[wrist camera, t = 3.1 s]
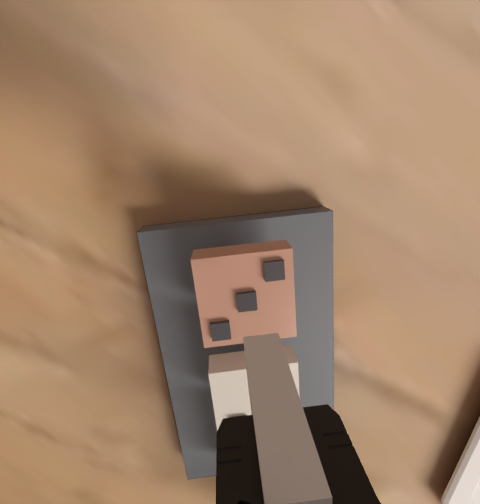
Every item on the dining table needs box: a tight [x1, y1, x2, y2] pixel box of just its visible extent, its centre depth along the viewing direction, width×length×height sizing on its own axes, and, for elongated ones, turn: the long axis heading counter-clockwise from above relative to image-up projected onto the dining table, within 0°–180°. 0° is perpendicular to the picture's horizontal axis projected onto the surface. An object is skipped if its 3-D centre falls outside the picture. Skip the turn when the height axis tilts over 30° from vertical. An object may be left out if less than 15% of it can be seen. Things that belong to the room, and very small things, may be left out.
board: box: [137, 207, 334, 480], centre depth 26 cm, size 14×24×2 cm, turn 5°
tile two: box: [208, 345, 300, 431], centre depth 22 cm, size 6×6×2 cm
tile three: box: [191, 239, 297, 348], centre depth 20 cm, size 6×6×2 cm
